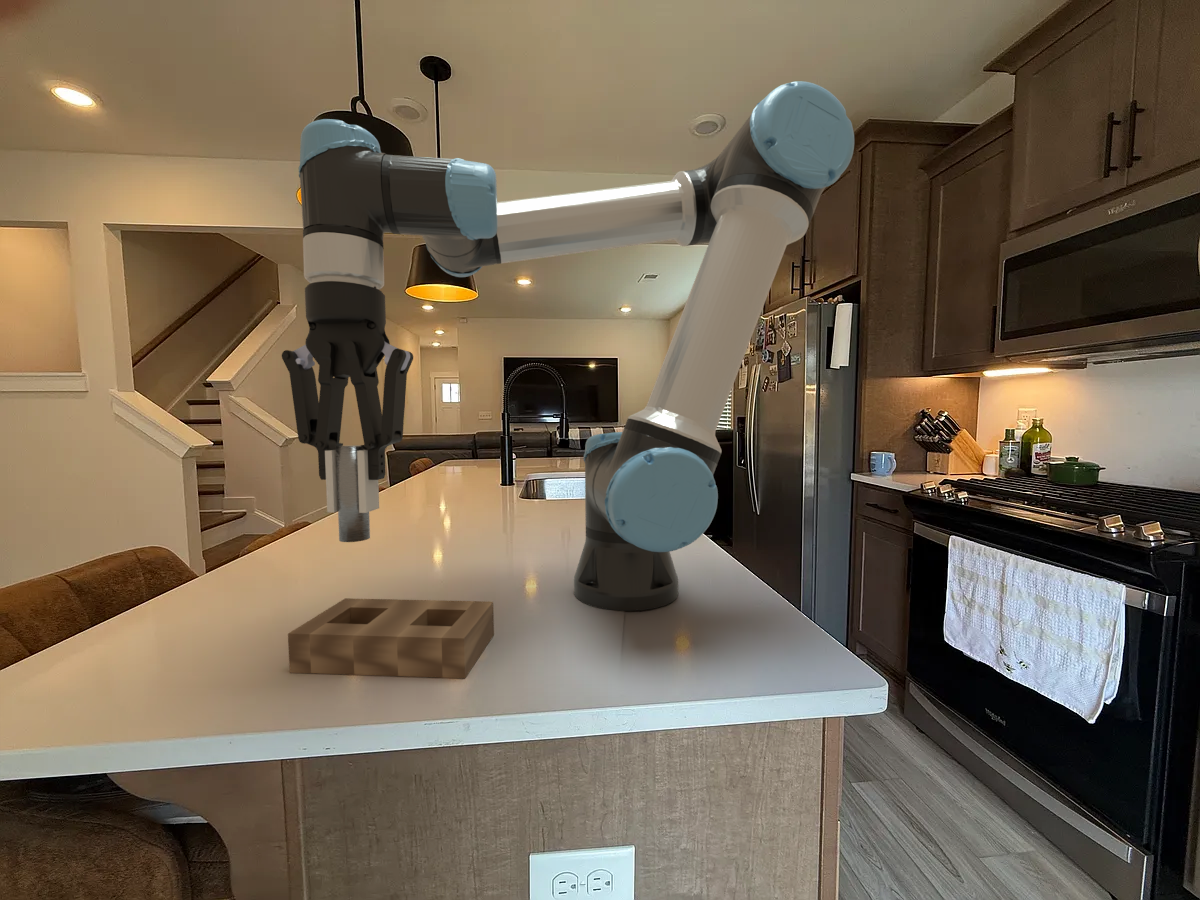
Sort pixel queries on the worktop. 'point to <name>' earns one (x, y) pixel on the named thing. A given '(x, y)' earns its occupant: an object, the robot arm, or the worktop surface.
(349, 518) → the peg
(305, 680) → the worktop surface
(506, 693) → the worktop surface
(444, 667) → the socket block
